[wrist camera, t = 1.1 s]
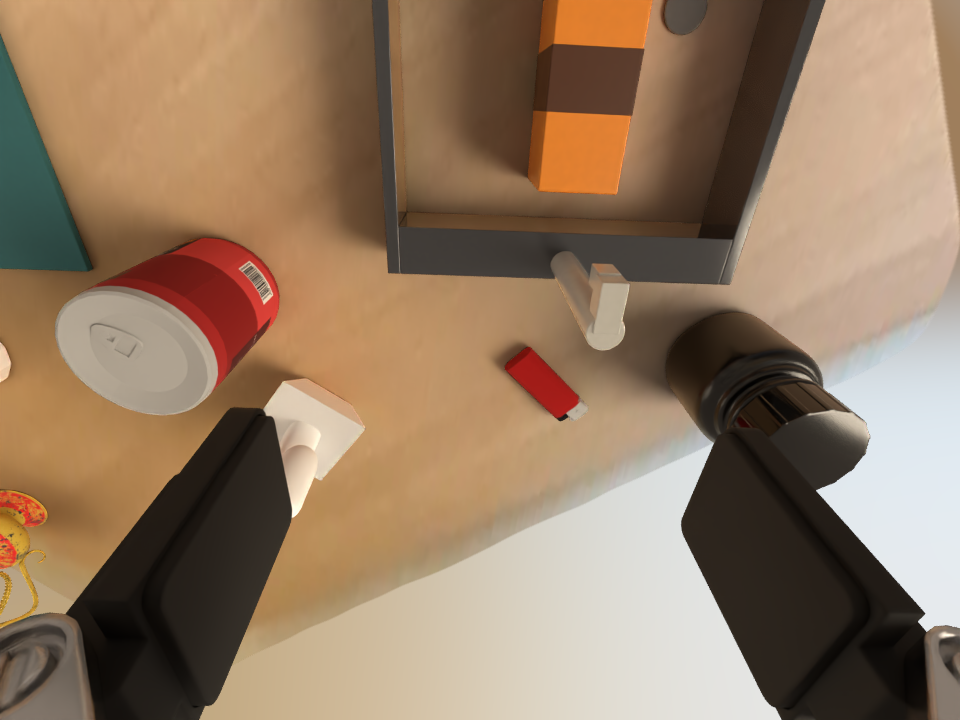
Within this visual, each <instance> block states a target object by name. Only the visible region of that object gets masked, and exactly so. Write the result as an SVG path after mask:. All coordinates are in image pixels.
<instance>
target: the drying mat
mask: <svg viewBox="0 0 960 720" xmlns="http://www.w3.org/2000/svg"><path fill="white" fill-rule="evenodd" d="M0 268H2V269H32V270H63V271H90V270H92V269H93V268H92V266H91V263H90V261H89V258H88V255H87V253H86V250H85V248H84V245H83V243H82V240H81V238H80V235H79V233H78V230H77V228H76V225H75V222H74V220H73V217H72V215H71V212H70V210H69V207H68V205H67V202H66V200H65V197H64V195H63V192H62V190H61V187H60V184H59V182H58V179H57V177H56V174H55V172H54V169H53V167H52V164H51V162H50V159H49V157H48V154H47V151H46V149H45V146H44V144H43V141H42V139H41V136H40V134H39V131H38V129H37V126H36V124H35V121H34V119H33V116H32V113H31V111H30V108H29V106H28V103H27V101H26V98H25V96H24V93H23V91H22V88H21V86H20V83H19V81H18V78H17V75H16V73H15V70H14V68H13V65H12V63H11V60H10V58H9V55H8V53H7V50H6V48H5V45H4V42H3V40H2V37H1V35H0Z"/></svg>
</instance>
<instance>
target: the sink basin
mask: <svg viewBox="0 0 960 720" xmlns="http://www.w3.org/2000/svg"><path fill="white" fill-rule="evenodd" d="M824 3H825V0H764V4H763V7H762V11H761V14H760V18H759V21H758V25H757V29H756V32H755V36H754V39H753V43H752V46H751V50H750V53H749V57H748V61H747V64H746V68H745V71H744V75H743V78H742V82H741V85H740V89H739V93H738V96H737V100H736V103H735V107H734V110H733V114H732V117H731V121H730V124H729V128H728V132H727V135H726V139H725V142H724V146H723V149H722V153H721V156H720V160H719V164H718V167H717V171H716V174H715V178H714V181H713V185H712V188H711V192H710V196H709V199H708V203H707V206H706V210H705V213H704V217H703V220H702V224H701V223H680V222H654V221H629V220H604V219H579V218H554V217H528V216H503V215H478V214H453V213H428V212H407V200H406V172H405V145H404V117H403V89H402V61H401V33H400V5H399V0H372V12H373V29H374V46H375V62H376V79H377V96H378V113H379V129H380V146H381V163H382V179H383V196H384V213H385V229H386V246H387V263H388V273H395V274H400V273H401V274H426V275H455V276H485V277H514V278H544V279H556V281H557V283H558V285H559V287H560V289H561V291H562V293H563V295H564V297H565V299H566V301H567V303H568V305H569V307H570V309H571V311H572V313H573V315H574V317H575V319H576V321H577V323H578V325H579V327H580V329H581V331H582V333H583V335H584V337H585V339H586V341H587V343H588V344H589V345H590V346H591V347H592V348H594V349H597V350H609V349H612V348H614V347H615V346H617V345H618V344H619V343H620V342H621V341H622V339H623V337H624V334H625V325H624V323H623V321H622V319H623V314H624V310H625V305H626V301H627V296H628V291H629V287H630V283H629V282H628V281H632V282H662V283H691V284H721V285H730V284H731V281H732V278H733V275H734V272H735V269H736V266H737V263H738V260H739V257H740V254H741V251H742V248H743V245H744V242H745V239H746V237H747V234H748V231H749V228H750V225H751V222H752V219H753V216H754V213H755V210H756V207H757V204H758V201H759V198H760V195H761V192H762V189H763V186H764V183H765V180H766V177H767V174H768V171H769V168H770V165H771V162H772V159H773V156H774V153H775V150H776V147H777V144H778V141H779V138H780V135H781V132H782V129H783V126H784V123H785V120H786V117H787V114H788V111H789V108H790V105H791V102H792V99H793V96H794V93H795V90H796V87H797V84H798V81H799V78H800V75H801V72H802V69H803V66H804V63H805V60H806V57H807V54H808V51H809V48H810V45H811V42H812V39H813V36H814V33H815V30H816V27H817V24H818V21H819V18H820V15H821V12H822V9H823V6H824ZM706 9H707V0H667V2H666V5H665V9H664V20H665V24H666V26H667V28H668V29H669V30H670V31H671V32H672V33H674V34H676V35H685V34H688V33H690V32H692V31H693V30H695V29H696V28H697V27H698V26H699V25H700V23H701V22H702V20H703V18H704V16H705V13H706Z"/></svg>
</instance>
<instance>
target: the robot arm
mask: <svg viewBox="0 0 960 720" xmlns="http://www.w3.org/2000/svg"><path fill="white" fill-rule="evenodd" d="M291 519H292V505H291V500H290V495H289V490H288V485H287V480H286V475H285V470H284V465H283V460H282V455H281V450H280V445H279V440H278V435H277V430H276V425H275V421H274V418H273V417H272V416H266V413H265V411H264V410H263V409H260V408H235V407H233V408H230V409H229V410H228V411H227V412H226V413H225V415H224V416H223V417H222V419H221V420H220V421H219V423H218V424H217V425H216V426H215V428H214V429H213V430H212V432H211V433H210V434H209V436H208V437H207V438H206V439H205V441H204V442H203V443H202V445H201V446H200V447H199V449H198V450H197V451H196V452H195V454H194V455H193V456H192V458H191V459H190V460H189V462H188V463H187V464H186V465H185V467H184V468H183V469H182V471H181V472H180V473H179V474H177V475H175V476H174V477H173V478H172V479H171V480H170V481H169V482H168V483H167V484H166V486H165V487H164V488H163V490H162V491H161V492H160V493H159V495H158V496H157V497H156V499H155V500H154V501H153V502H152V504H151V505H150V506H149V507H148V509H147V510H146V511H145V513H144V514H143V515H142V516H141V518H140V519H139V520H138V522H137V523H136V524H135V525H134V527H133V528H132V529H131V531H130V532H129V533H128V534H127V536H126V537H125V538H124V540H123V541H122V542H121V543H120V545H119V546H118V547H117V549H116V550H115V551H114V552H113V554H112V555H111V556H110V557H109V559H108V560H107V561H106V563H105V564H104V565H103V566H102V568H101V569H100V570H99V572H98V573H97V574H96V575H95V577H94V578H93V579H92V581H91V582H90V583H89V584H88V586H87V587H86V588H85V590H84V591H83V592H82V593H81V595H80V596H79V597H78V599H77V600H76V601H75V602H74V604H73V605H72V606H71V607H70V609H69V610H68V611H67V613H66V614H59V613H45V614H39V615H33V616H29V617H26V618H24V619H21V620H18V621H16V622H13V623H10V624H8V625H6V626H4V627H3V628H1V629H0V720H199V719H200V716H201V714H202V712H203V709H204V707H205V706H209V705H212V704H213V703H214V702H215V701H216V700H217V698H218V696H219V694H220V692H221V690H222V687H223V685H224V682H225V680H226V678H227V675H228V673H229V671H230V668H231V666H232V663H233V661H234V658H235V656H236V654H237V651H238V649H239V646H240V644H241V642H242V639H243V637H244V634H245V632H246V630H247V627H248V625H249V622H250V620H251V618H252V615H253V613H254V610H255V608H256V606H257V603H258V601H259V598H260V596H261V594H262V591H263V589H264V586H265V584H266V581H267V579H268V577H269V574H270V572H271V569H272V567H273V565H274V562H275V560H276V557H277V555H278V553H279V550H280V548H281V545H282V543H283V541H284V538H285V536H286V533H287V531H288V529H289V526H290V523H291ZM681 527H682V533H683V535H684V538H685V540H686V542H687V544H688V546H689V548H690V550H691V552H692V554H693V556H694V558H695V560H696V562H697V564H698V566H699V568H700V570H701V572H702V574H703V576H704V578H705V580H706V582H707V584H708V586H709V588H710V590H711V592H712V594H713V596H714V598H715V600H716V602H717V604H718V606H719V608H720V610H721V612H722V614H723V616H724V618H725V620H726V622H727V624H728V626H729V629H730V630H731V633H732V634H733V637H734V639H735V641H736V643H737V645H738V647H739V649H740V650H741V653H742V655H743V657H744V659H745V661H746V663H747V665H748V667H749V669H750V671H751V673H752V675H753V677H754V679H755V681H756V683H757V685H758V687H759V689H760V691H761V693H762V695H763V696H764V698H765V700H766V701H767V702H768V703H769V704H770V705H771V706H773V707H775V708H776V709H777V711H778V713H779V715H780V717H781V719H782V720H960V628H957V627H952V626H947V625H945V626H934V627H933V628H932V629H930V630H929V631H928V632H926V631H925V630H924V628H923V627H922V626H921V625H920V624H919V623H918V621H919V619H921V618H922V617H923V616H924V615H925V613H924V611H923V610H922V609H921V608H920V607H919V606H918V605H917V603H916V602H915V601H914V600H913V599H912V598H911V597H910V596H909V595H908V593H907V592H906V591H905V590H904V589H903V588H902V587H901V586H900V584H899V583H898V582H897V581H896V580H895V579H894V578H893V577H892V575H891V574H890V573H889V572H888V571H887V570H886V569H885V568H884V566H883V565H882V564H881V563H880V562H879V561H878V560H877V559H876V558H875V557H874V555H873V554H872V553H871V552H870V551H869V550H868V549H867V547H866V546H865V545H864V544H863V543H862V542H861V541H860V540H859V539H858V537H857V536H856V535H855V534H854V533H853V532H852V531H851V530H850V528H849V527H848V526H847V525H846V524H845V523H844V522H843V521H842V520H841V518H840V517H839V516H838V515H837V514H836V513H835V512H834V510H833V509H832V508H831V507H830V506H829V505H828V504H827V503H826V501H825V500H824V499H823V498H822V497H821V496H820V495H819V494H818V493H817V492H816V490H815V489H814V488H813V487H812V486H811V485H810V484H809V482H808V481H807V480H806V479H805V478H804V477H803V476H802V475H801V473H800V472H799V471H798V470H797V469H796V468H795V467H794V466H793V465H792V463H791V462H790V461H789V460H788V459H787V458H786V457H785V456H784V454H783V453H782V452H781V451H780V450H779V449H778V448H777V447H776V445H775V444H774V443H773V442H772V441H771V440H770V439H769V438H768V436H767V435H766V434H765V433H764V432H763V431H761V430H760V429H757V428H738V427H731V428H728V429H726V430H725V432H724V433H723V434H720V435H718V436H717V438H716V440H715V442H714V445H713V447H712V449H711V452H710V454H709V456H708V459H707V461H706V463H705V466H704V468H703V470H702V473H701V475H700V477H699V480H698V482H697V485H696V487H695V489H694V491H693V494H692V496H691V499H690V501H689V503H688V506H687V508H686V510H685V513H684V515H683V517H682V521H681Z"/></svg>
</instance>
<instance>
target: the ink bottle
mask: <svg viewBox="0 0 960 720" xmlns="http://www.w3.org/2000/svg"><path fill="white" fill-rule="evenodd" d="M666 377H667V381H668V384H669V386H670V388H671V390H672V391H673V393H674V394H675V396H676V397H677V398H678V400H679V401H680V403H681V404H682V405H683V407H684V408H685V410H686V411H687V413H688V414H689V415H690V417H691V418H692V420H693V421H694V422H695V424H696V425H697V426H698V428H699V429H700V431H701V432H702V433H703V434H704V435H705V436H706V437H707V438H708V439H709V440H711V441H712V442H715V440H716V438H717V436H718V435H720V434H723V433H724V432H725V430H726V429H728V428H731V427H738V428H757V429H760V430H761V431H763V432H764V433H765V434H766V435H767V436H768V438H769V439H770V440H771V441H772V442H773V443H774V444H775V445H776V447H777V448H778V449H779V450H780V451H781V452H782V453H783V454H784V456H785V457H786V458H787V459H788V460H789V461H790V462H791V463H792V465H793V466H794V467H795V468H796V469H797V470H798V471H799V472H800V473H801V475H802V476H803V477H804V478H805V479H806V480H807V481H808V482H809V484H810V485H811V486H812V487H813V488H814V489H815V490H818V489H820V488H822V487H825V486H827V485H830V484H833V483H835V482H836V481H837V480H839V479H840V478H841V477H843V476H844V475H845V474H847V473H848V472H850V471H852V470H853V469H854V468H855V466H856V464H857V463H858V462H859V461H860V459H861V458H862V457H863V456H864V455H865V454H866V449H867V446H868V442H869V439H870V434H869V432H868V429H867V426H866V422H865V421H864V420H863V419H861V418H860V417H859V416H858V415H856V414H855V413H854V412H853V411H851V410H850V409H849V408H848V407H846V406H845V405H844V404H843V403H841V402H840V401H839V400H838V399H836V398H835V397H834V396H833V395H831V394H830V393H828V392H827V391H825V390H824V389H823V378H822V374H821V371H820V369H819V367H818V365H817V364H816V362H815V361H814V360H813V359H812V358H811V357H810V356H809V355H808V354H807V353H806V352H804V351H803V350H802V349H800V348H799V347H797V346H796V345H795V344H793V343H792V342H791V341H789V340H788V339H787V338H785V337H784V336H782V335H781V334H780V333H778V332H777V331H776V330H774V329H773V328H772V327H770V326H769V325H767V324H766V323H765V322H763V321H762V320H760V319H759V318H757V317H755V316H753V315H750V314H746V313H740V312H731V313H723V314H719V315H715V316H712V317H710V318H707V319H705V320H703V321H701V322H699V323H697V324H695V325H694V326H692V327H691V328H689V329H688V330H687V331H686V332H684V333H683V334H682V335H681V336H680V337H679V338H678V339H677V341H676V342H675V343H674V345H673V346H672V348H671V350H670V352H669V354H668V357H667V361H666Z"/></svg>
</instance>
